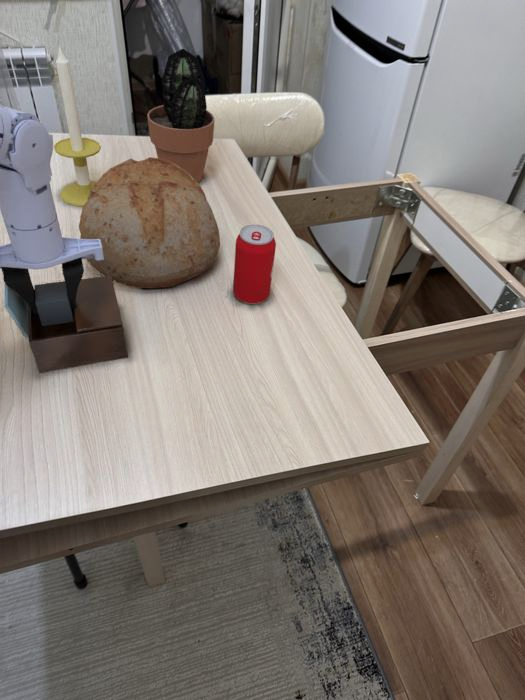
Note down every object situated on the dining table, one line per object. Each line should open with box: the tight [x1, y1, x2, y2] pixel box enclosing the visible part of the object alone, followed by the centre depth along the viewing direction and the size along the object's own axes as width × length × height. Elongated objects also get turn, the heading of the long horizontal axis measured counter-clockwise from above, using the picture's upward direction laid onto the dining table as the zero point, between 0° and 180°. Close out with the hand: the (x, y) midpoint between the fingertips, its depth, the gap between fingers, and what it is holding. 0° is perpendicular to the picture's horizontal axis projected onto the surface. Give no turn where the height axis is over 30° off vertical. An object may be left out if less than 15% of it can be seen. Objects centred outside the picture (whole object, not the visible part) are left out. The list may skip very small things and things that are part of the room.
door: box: [3, 283, 29, 340], centre depth 63 cm, size 6×11×1 cm
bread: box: [78, 156, 221, 289], centre depth 83 cm, size 26×23×15 cm
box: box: [27, 275, 129, 374], centre depth 69 cm, size 12×11×7 cm
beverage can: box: [232, 223, 277, 305], centre depth 78 cm, size 6×6×12 cm
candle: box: [53, 43, 102, 207], centre depth 90 cm, size 10×10×27 cm
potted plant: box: [146, 48, 216, 184], centre depth 100 cm, size 14×14×25 cm
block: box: [33, 280, 74, 326], centre depth 65 cm, size 4×4×4 cm
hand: (55, 306), depth 66 cm, fingers closed on block, 4 cm apart
